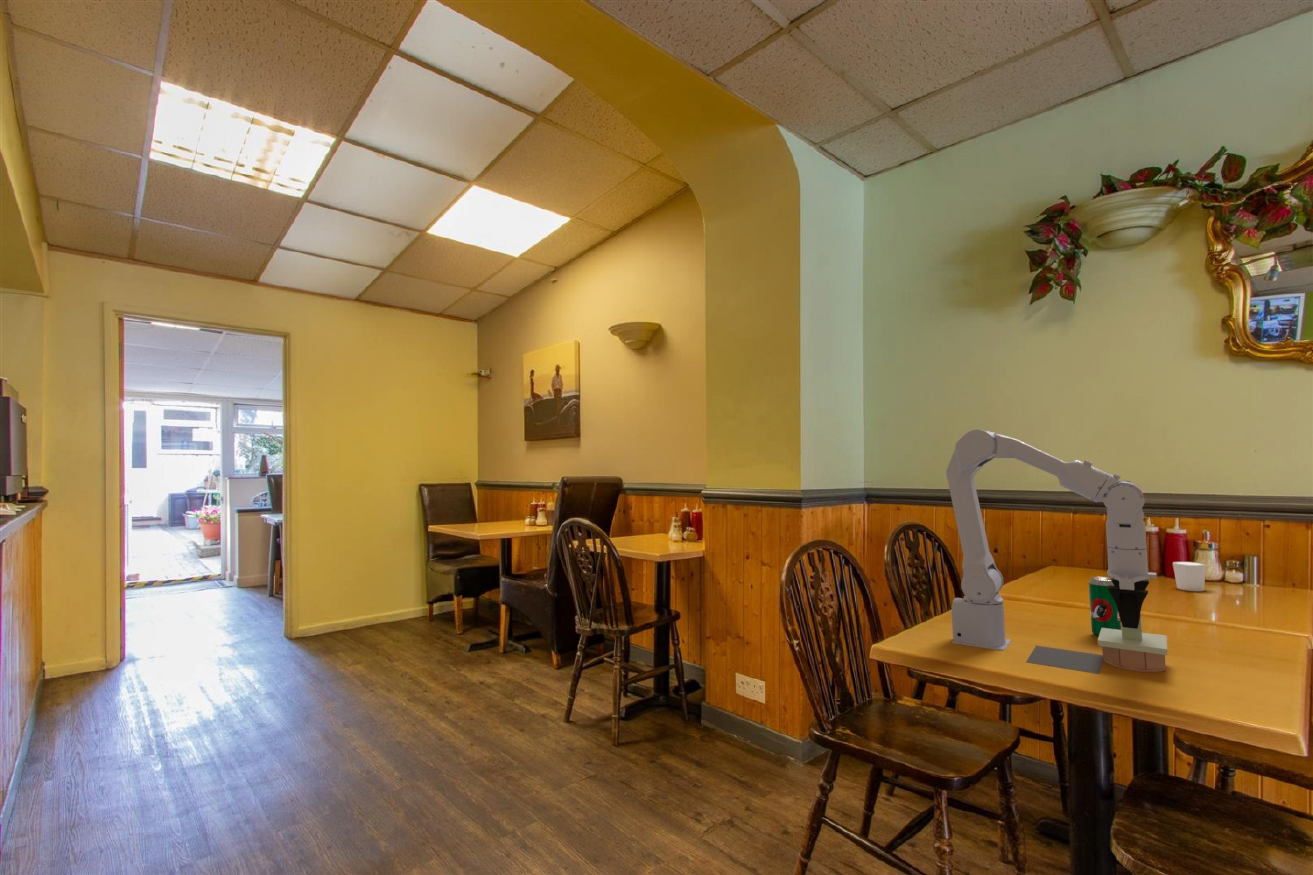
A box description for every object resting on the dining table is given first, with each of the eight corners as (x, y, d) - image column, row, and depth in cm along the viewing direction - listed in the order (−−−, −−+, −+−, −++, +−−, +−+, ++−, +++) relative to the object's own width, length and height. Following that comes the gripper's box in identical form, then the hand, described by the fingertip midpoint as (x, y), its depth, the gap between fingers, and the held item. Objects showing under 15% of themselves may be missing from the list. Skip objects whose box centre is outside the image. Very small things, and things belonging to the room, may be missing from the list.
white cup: (1185, 591, 163) (1183, 565, 163) (1168, 586, 170) (1166, 561, 170) (1214, 591, 162) (1212, 565, 162) (1195, 586, 169) (1194, 561, 169)
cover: (1097, 645, 109) (1096, 617, 109) (1101, 632, 116) (1100, 606, 117) (1167, 655, 103) (1165, 625, 103) (1167, 641, 110) (1165, 613, 110)
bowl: (1102, 667, 109) (1100, 645, 109) (1105, 654, 116) (1104, 633, 116) (1165, 677, 103) (1164, 654, 103) (1165, 663, 110) (1164, 641, 110)
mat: (1026, 664, 112) (1025, 661, 112) (1036, 647, 121) (1036, 645, 121) (1099, 676, 105) (1099, 673, 105) (1104, 657, 114) (1104, 655, 114)
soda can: (1126, 640, 124) (1122, 581, 124) (1098, 639, 125) (1094, 581, 126) (1114, 632, 129) (1110, 576, 129) (1087, 632, 130) (1083, 576, 130)
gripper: (1154, 554, 102) (1159, 635, 102) (1155, 543, 113) (1159, 616, 113) (1102, 551, 107) (1107, 629, 106) (1108, 541, 118) (1112, 611, 117)
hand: (1131, 622), depth 110 cm, fingers open, 7 cm apart
